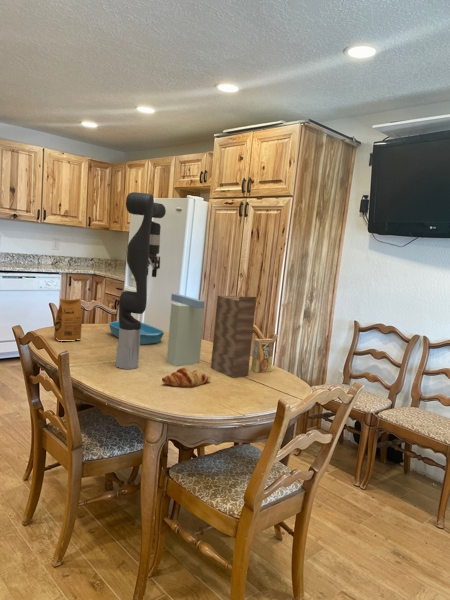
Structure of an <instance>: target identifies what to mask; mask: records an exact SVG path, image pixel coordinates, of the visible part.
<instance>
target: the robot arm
mask: <svg viewBox="0 0 450 600" xmlns="http://www.w3.org/2000/svg"><path fill="white" fill-rule="evenodd" d="M125 208H126V211H127V212H128V213H129V214H131V215H134V216H135V215H136V216H143V218H142V222H141V225H140V226H139V228H138V230H137V231H136V232H135V234H134V235H133V236H132V238H131V239H130V240H129V242H128V243H127V250H126V262H127V265H128V268H129V270H130V272H131V274H132V276H133V278H134V280H135V286H136V291H129V290H124V291H122V292H121V293H120V296H119V301H118V321H119V338H118V339H117V340H118V341H117V342H118V344H117V346H116V353H115V354H116V355H115V368H118V367H119V369H124V370H132V369H136V368H138V367H139V357H140V346H141V345H140V332H141V321H140V320H138V319H136V318H135V317H134V316H133V315H132V314H136V315H141V314H143V313H145V311H146V308H147V302H148V301H147V300H148V299H147V298H148V286H147V284H148V275H149V267H150V266H151V268H152V269H151V277H152V278H156V277H157V275H158V274H157V271H158V269H159V270H160V267H161V256H158V255H159V254H160V243H161V228H162V227H161V224H160V223H158V222H155V221H153V219H162V218H164V217H165V215H166V212H167V211H166V207H165V205H164V204H162V203H158V202H155V199H154V196H153V194H152V193H146V192H135V191H134V192H130V193H128V194H127V195H126V198H125Z"/></svg>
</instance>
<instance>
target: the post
mask: <svg viewBox="0 0 450 600" xmlns="http://www.w3.org/2000/svg"><path fill="white" fill-rule="evenodd" d="M256 303H257V296H235V295H217V300H216V308H215V309H216V310H215V317H214V318H215V319H214V320H215V321H214V322H215V323H214V330H213V340H212V352H211V363H210V368H211V369H212V370H214V371H217V372H219V373H221V374H223V375H225V376H227V377H229V378H232V379H235V378H241V377H243V378H244V377H247V376H249V371H250V370H249V369H250V360H251V351H252V350H251V349H252V340H253V333H254V323H255V314H256Z"/></svg>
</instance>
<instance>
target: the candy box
mask: <svg viewBox="0 0 450 600" xmlns="http://www.w3.org/2000/svg"><path fill="white" fill-rule="evenodd" d="M253 341H254V342H253V350H252V359H251V369H250V371H252V372H253V373H254V374H255V373H256V374H257V373H268V372H271V370H272V365H273V364H272V363H273V354H274V347H275V346H274V345H275V340H274V339H272V338H255V339H253Z"/></svg>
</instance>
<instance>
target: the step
mask: <svg viewBox="0 0 450 600" xmlns="http://www.w3.org/2000/svg"><path fill="white" fill-rule="evenodd" d="M170 306H171V307H170V317H169V329H168V330H169V331H168V343H167V353H166V363H167V364H170V365H171V366H173V367H178V366H186V365H187V366H188V365H195V364H200V360H201V359H200V358H201V349H202V348H201V347H202V339H203V328H204V327H203V325H204V315H205V305H204V308H195V307H192V306H188V305H185V304H182V303H178V302H176V303H174V302H173V303H171V305H170Z"/></svg>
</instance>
